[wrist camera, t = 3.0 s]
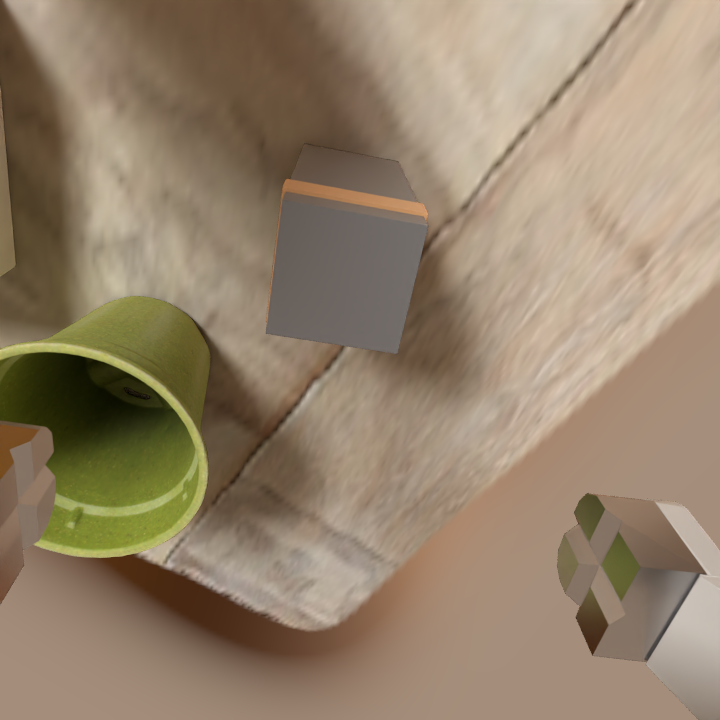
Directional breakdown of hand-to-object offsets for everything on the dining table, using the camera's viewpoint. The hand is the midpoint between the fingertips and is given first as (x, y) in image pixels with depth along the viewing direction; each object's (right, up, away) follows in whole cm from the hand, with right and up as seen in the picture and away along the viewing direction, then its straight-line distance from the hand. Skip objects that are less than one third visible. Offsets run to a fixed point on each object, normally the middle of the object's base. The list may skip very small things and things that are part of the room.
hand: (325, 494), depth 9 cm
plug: (0, +9, +17) cm, 19 cm away
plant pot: (-10, +3, +20) cm, 22 cm away
